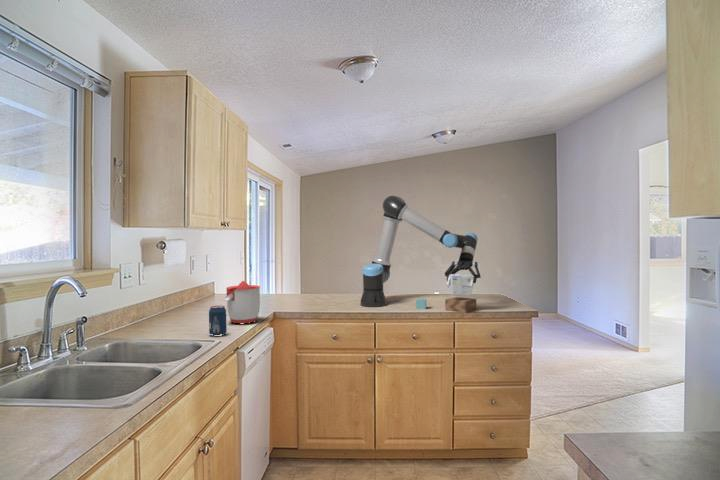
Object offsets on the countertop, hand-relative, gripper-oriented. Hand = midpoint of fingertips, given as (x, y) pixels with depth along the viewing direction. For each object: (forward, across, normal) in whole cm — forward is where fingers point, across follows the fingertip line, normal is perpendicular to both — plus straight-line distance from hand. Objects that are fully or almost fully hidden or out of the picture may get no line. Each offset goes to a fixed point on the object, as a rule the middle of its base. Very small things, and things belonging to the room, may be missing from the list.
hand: (459, 286), depth 233 cm
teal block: (+10, +21, -8) cm, 25 cm away
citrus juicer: (+60, +85, +42) cm, 112 cm away
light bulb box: (+2, 0, -5) cm, 5 cm away
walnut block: (+8, 0, -11) cm, 13 cm away
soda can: (+77, +76, +59) cm, 124 cm away
